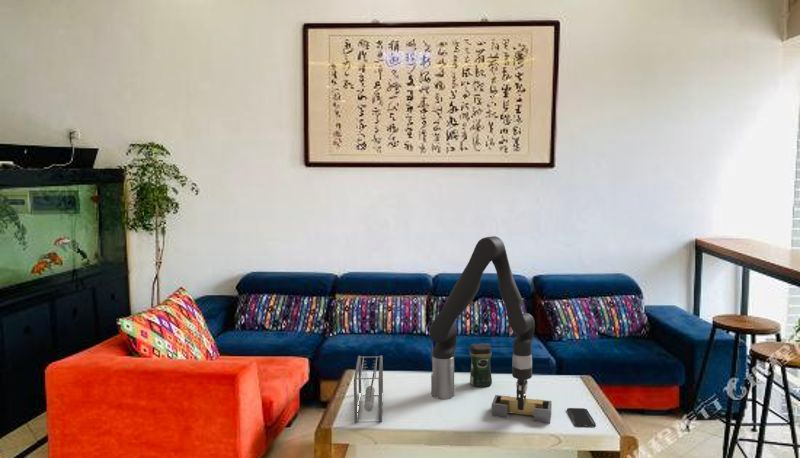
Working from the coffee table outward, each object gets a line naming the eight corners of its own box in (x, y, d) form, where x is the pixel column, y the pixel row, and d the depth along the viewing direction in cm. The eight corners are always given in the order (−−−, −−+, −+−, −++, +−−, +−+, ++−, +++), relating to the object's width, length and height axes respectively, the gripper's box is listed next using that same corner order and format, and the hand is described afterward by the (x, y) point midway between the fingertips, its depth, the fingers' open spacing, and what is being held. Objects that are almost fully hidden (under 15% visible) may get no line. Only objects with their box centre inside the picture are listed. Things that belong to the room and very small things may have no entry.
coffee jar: (489, 380, 257) (489, 340, 255) (493, 386, 249) (493, 346, 248) (468, 381, 256) (468, 341, 255) (472, 387, 249) (472, 347, 247)
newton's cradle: (358, 394, 243) (358, 354, 242) (383, 393, 244) (382, 353, 242) (354, 424, 214) (353, 379, 212) (382, 424, 214) (381, 379, 212)
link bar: (500, 411, 221) (500, 399, 221) (501, 407, 225) (501, 395, 224) (542, 416, 216) (542, 403, 216) (542, 412, 220) (543, 400, 219)
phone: (586, 408, 224) (596, 425, 209) (586, 411, 224) (596, 427, 209) (566, 408, 225) (574, 424, 210) (566, 410, 225) (574, 427, 210)
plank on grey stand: (491, 416, 219) (491, 404, 219) (495, 406, 228) (495, 394, 228) (549, 423, 212) (550, 410, 212) (551, 413, 221) (551, 401, 221)
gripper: (514, 358, 226) (514, 397, 228) (510, 370, 213) (509, 411, 214) (533, 360, 224) (533, 399, 226) (530, 372, 211) (529, 413, 212)
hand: (521, 405), depth 220 cm, fingers open, 8 cm apart
